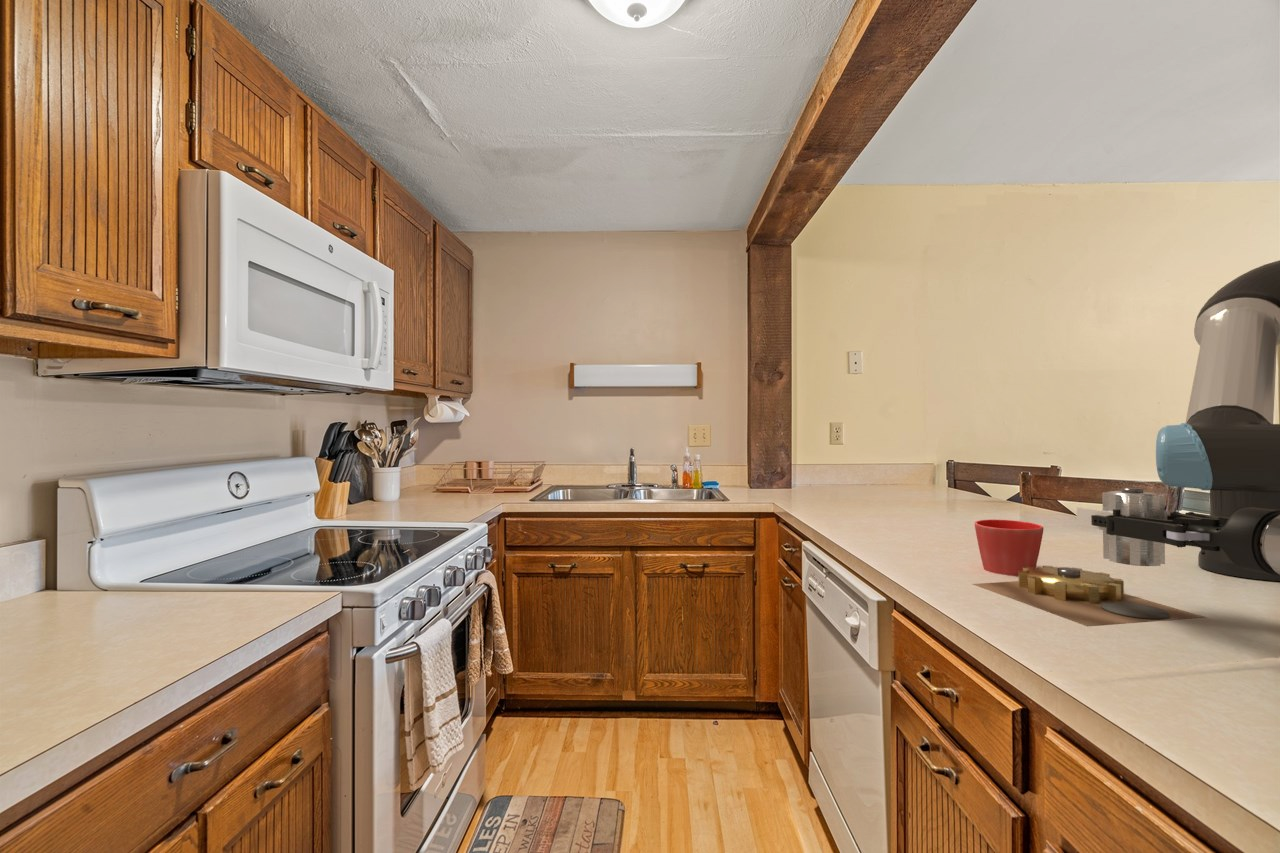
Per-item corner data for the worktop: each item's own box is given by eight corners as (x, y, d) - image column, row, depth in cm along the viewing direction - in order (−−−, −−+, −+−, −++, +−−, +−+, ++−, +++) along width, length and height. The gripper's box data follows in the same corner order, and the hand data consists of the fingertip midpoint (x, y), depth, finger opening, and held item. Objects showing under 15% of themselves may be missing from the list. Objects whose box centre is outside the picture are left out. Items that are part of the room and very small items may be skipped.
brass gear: (1070, 578, 105) (1069, 558, 105) (1146, 600, 91) (1146, 577, 91) (999, 582, 103) (999, 562, 103) (1067, 605, 89) (1067, 582, 89)
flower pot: (1049, 586, 104) (1048, 530, 104) (977, 579, 108) (976, 526, 108) (1039, 572, 113) (1038, 521, 113) (973, 567, 118) (972, 518, 118)
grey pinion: (1130, 556, 90) (1129, 485, 90) (1178, 566, 83) (1176, 490, 83) (1091, 558, 89) (1090, 486, 89) (1135, 568, 82) (1134, 491, 82)
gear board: (1069, 583, 105) (1069, 576, 105) (1206, 624, 83) (1206, 614, 83) (972, 589, 102) (972, 582, 102) (1087, 633, 80) (1087, 623, 80)
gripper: (1212, 580, 67) (1043, 542, 89) (1354, 572, 70) (1156, 537, 92) (1211, 513, 67) (1042, 492, 89) (1353, 508, 70) (1155, 489, 92)
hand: (1100, 515), depth 91 cm, fingers closed on grey pinion, 7 cm apart
